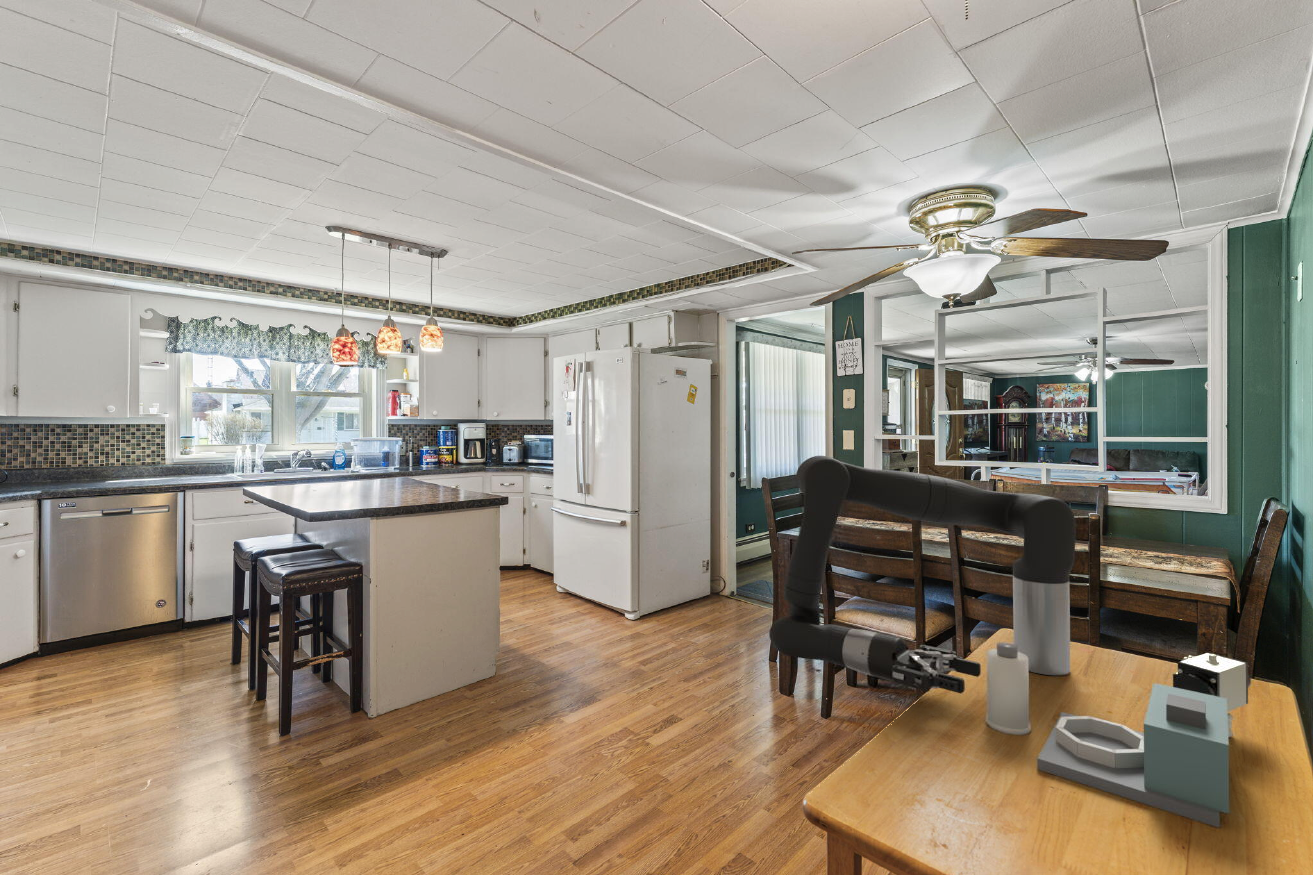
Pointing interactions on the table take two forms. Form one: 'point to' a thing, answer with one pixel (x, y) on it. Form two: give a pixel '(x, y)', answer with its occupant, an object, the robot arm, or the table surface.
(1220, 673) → the pneumatic valve
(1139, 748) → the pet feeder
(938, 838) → the table surface
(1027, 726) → the bottle
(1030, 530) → the robot arm
